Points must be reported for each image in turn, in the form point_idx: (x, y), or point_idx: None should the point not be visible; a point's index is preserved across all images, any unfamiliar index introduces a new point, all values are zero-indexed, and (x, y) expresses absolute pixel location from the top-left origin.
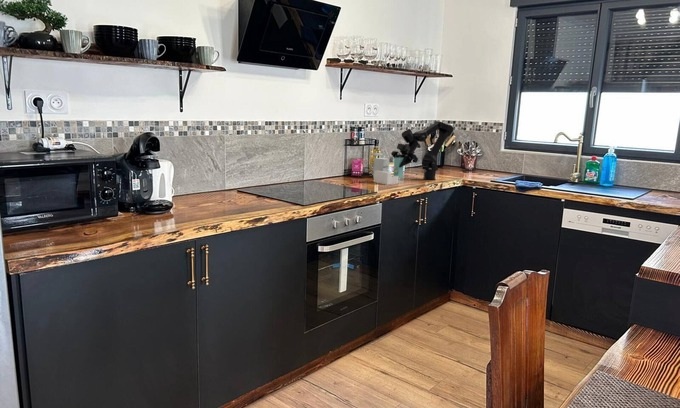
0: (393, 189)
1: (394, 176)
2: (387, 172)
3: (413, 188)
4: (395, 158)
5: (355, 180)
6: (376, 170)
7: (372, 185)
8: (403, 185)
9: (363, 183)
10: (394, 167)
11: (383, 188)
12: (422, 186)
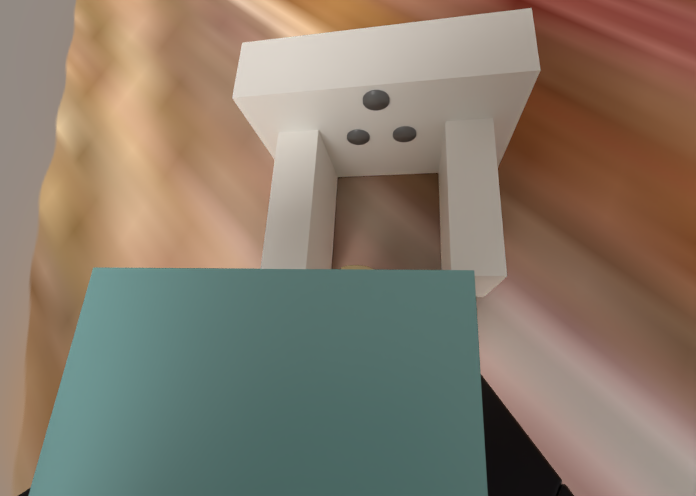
0: (123, 48)
1: (270, 202)
2: (269, 58)
3: (47, 202)
4: (370, 280)
5: (675, 26)
6: (525, 39)
7: (327, 15)
8: (182, 244)
9: (451, 3)
10: (354, 268)
11: (188, 14)
12: (35, 371)
